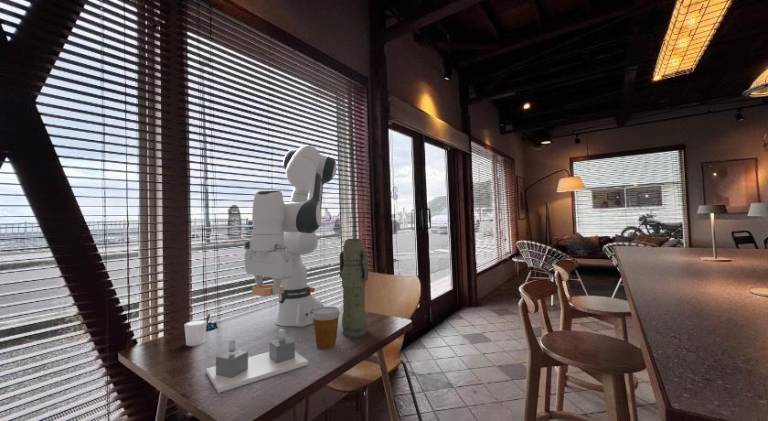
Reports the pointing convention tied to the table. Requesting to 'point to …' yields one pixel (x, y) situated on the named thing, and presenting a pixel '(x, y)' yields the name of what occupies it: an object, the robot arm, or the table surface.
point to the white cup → (195, 332)
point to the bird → (210, 324)
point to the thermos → (354, 287)
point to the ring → (265, 290)
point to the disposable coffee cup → (325, 326)
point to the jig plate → (254, 364)
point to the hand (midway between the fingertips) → (267, 291)
